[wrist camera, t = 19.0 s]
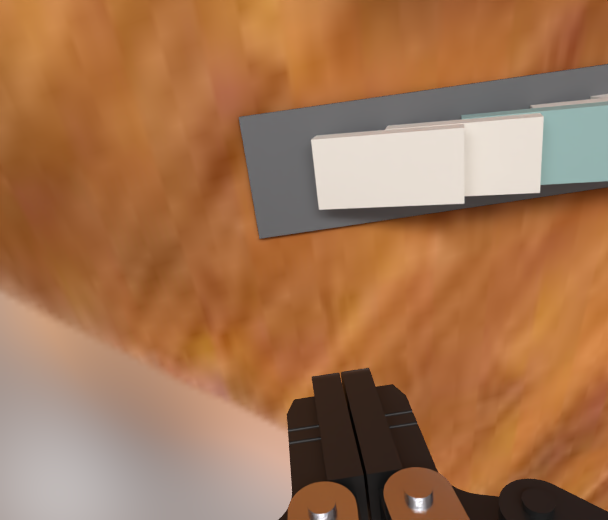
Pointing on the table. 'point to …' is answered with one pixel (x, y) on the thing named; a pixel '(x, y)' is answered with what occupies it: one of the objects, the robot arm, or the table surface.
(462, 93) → the strip
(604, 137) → the domino
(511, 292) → the table surface
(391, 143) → the domino
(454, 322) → the table surface
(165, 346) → the table surface
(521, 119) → the domino
